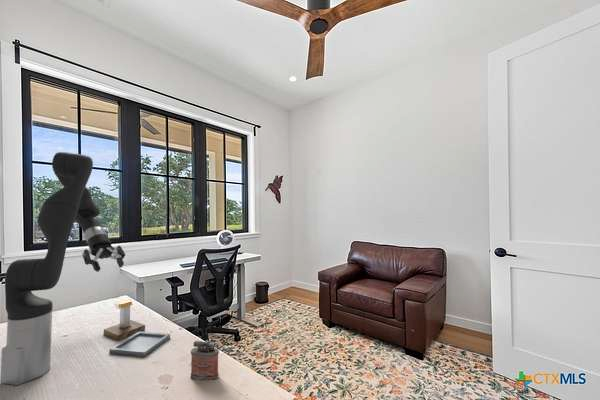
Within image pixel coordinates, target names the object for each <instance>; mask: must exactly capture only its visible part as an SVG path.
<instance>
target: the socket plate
mask: <svg viewBox="0 0 600 400" xmlns="http://www.w3.org/2000/svg"><path fill="white" fill-rule="evenodd" d="M145 330H146V324H143V323H141V322H137V321H135V320H133V319H130V327H129V328H126V329H124V330H121V329H120V323H118V324H116V325H112V326H110V327H106V328H104V329H103V336H106V337H108V338H111V339H113V340H115V341H121V340H125V339H127V338H129V337H131V336H132V335H134V334H136V333H137V332H145Z"/></svg>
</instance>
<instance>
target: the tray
mask: <svg viewBox="0 0 600 400" xmlns="http://www.w3.org/2000/svg"><path fill="white" fill-rule="evenodd" d="M170 339H171V334H170V333H163V332H162V333H161V332H148V331H141V332H137V333H136V334H134V335H131V336H129V337H126V338H125V339H123V340H122V341H121V342H119V343H117V344H115V345H114V346H112V347H111V348H109V355H120V356H130V357H139V358H140V357H141V358H145V357H147V356H148V355H149V354H150V353H152V352H153V351H154V350H157V349H158V348H159V347H160V346H161V345H163V344H165V342H167V341H168V340H170ZM166 340H167V341H166Z"/></svg>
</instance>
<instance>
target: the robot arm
mask: <svg viewBox="0 0 600 400" xmlns="http://www.w3.org/2000/svg"><path fill="white" fill-rule="evenodd" d="M51 166H52V171H53V173H54V175H55V176H56V178H57V179H58V181H59V182H60V183H61V185H62V186H63V187H62V188H60V189H59V190H57V191H55V192H54V193H52V194H51V195H50V196H48V197H47V198H45V200H44V201H43V204H42V207H41V208H40V210H39V213H38V216H37V224H38V227H39V229H40V231H41V232H42V234H43V235H44V238H45V239H46V243H47V252H46V256H45V257H43V258H42V257H41V258H24V259H17V260H14V261H12V262H11V263H10V264H9V266H8V267H7V269H6V272H5V277H4V290H5V291H4V294H5V295H4V296H5V297H4V298H5V311H6V313H7V321H6V322H7V324H6V346H3V347H2V348H1V357H0V359H1V360H0V361H1V364H0V384H4V385H13V386H20V385H21V384H23V383H27V382H30V381H33V380H36V379H37V378H40V377H42V376H43V375H45V374H46V373H48V372H49V371H50V369H51V361H52V360H51V359H52V358H51V356H52V355H51V354H52V331H53V329H52V326H53V324H52V323H53V306H54V305H53V301H52V300H50V299H48V298H43V297H40V296H38V295H35V294H34V293H33V291H34V292H35V291H45V290H51V289H53V288H54V287H55V286H56V285H58V283H59V281H60V277H61V274H62V270H63V265H64V263H65V262H64V261H65V256H66V252H67V247H68V243H69V239H70V236H71V232H72V229H73V227H74V224H75V223H77V225H78V226H80V228H81V229H82V232H83V235H84V239H85V241H86V243H87V246H88V248H89V249H84V250H83V252H82V257H83V261H84V264H85V265H91V266H92V268H93V270H94V271H95V272H100V271H101V265H100V263H99V261H98V259H99V260H103V259H109V258H110V259H111V260H114V261H116V263H117V265H118V268H119V269H121V268H123V267H124V265H125V263H124V260H123V259H124V258H125V257H126V253H125V251H124V250H123V248H122V246H121V245H117V246H115V247H114V246H112V242H111V240H110V238H109V236H108V234H107V232H106V230H105V229H104V227H103V225H102V223H101V220H100V219H98V217H99V215H100V214H101V211H100V208H99V206H98V205H97V204H96V203H95V202H94V200H93V197H92V194H91V191H90V189H88V187H87V185H88V182H89V179H90V177H91V175H92V171H93V166H94V162H93V158H92V157H91V156H89V155H87V154H81V153H73V152H63V151H59V152H56V153H55V154H54V155H53V158H52V163H51ZM91 255H92V256H94V258H93V259H92V258H91Z"/></svg>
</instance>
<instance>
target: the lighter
mask: <svg viewBox="0 0 600 400" xmlns="http://www.w3.org/2000/svg"><path fill="white" fill-rule="evenodd" d="M193 347H194V348H192V349H191V350H190V355H191V359H190V360H191V363H190V364H191V366H190V368H191V369H190V371H191V373H190V379H191V380H194V381H200V380H201V381H202V382H203V381H204V382H208V381H207V380H213V381H216V380H218V379H219V377H218V376H219V353H220V349H219V348H215V347H216V344H215V341H210V340H209V339H206V340H205V341H203V340H195V341H194V342H193ZM217 378H218V379H217ZM215 379H216V380H215ZM201 381H200V382H201Z"/></svg>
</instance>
